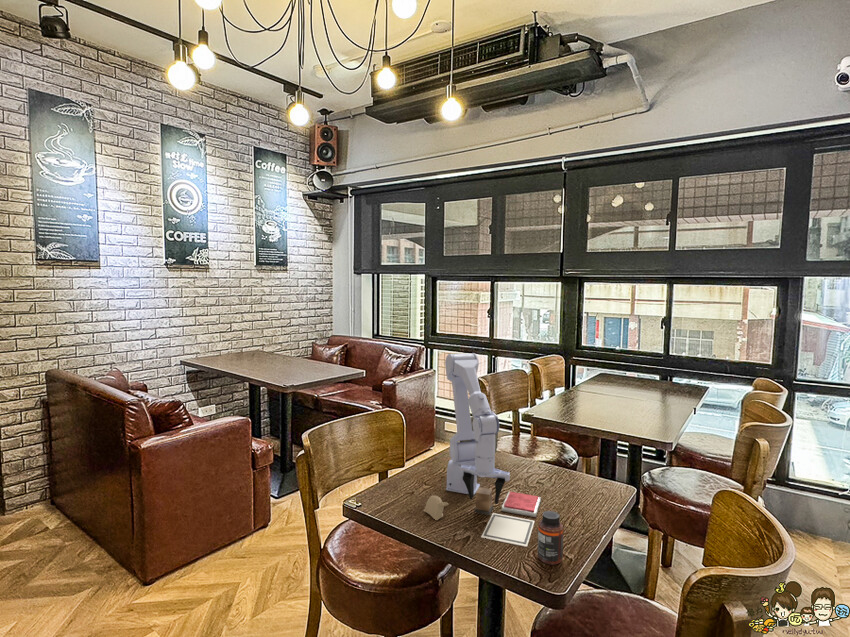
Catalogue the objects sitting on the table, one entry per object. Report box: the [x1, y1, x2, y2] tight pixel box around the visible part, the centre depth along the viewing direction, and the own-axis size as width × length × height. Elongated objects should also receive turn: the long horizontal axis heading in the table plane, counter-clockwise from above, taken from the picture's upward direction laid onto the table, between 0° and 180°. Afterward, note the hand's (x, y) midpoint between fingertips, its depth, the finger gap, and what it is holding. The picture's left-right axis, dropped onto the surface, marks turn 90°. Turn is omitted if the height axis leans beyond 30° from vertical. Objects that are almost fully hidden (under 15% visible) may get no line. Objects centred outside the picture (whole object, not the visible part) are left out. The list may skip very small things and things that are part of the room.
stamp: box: [473, 486, 494, 516], centre depth 142 cm, size 5×5×6 cm
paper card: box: [480, 512, 536, 548], centre depth 132 cm, size 12×14×1 cm
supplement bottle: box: [537, 510, 564, 566], centre depth 118 cm, size 6×6×11 cm
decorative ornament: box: [422, 494, 449, 521], centre depth 139 cm, size 4×8×5 cm, turn 31°
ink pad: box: [501, 491, 542, 518], centre depth 145 cm, size 10×11×2 cm
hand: (484, 500), depth 142 cm, fingers open, 7 cm apart
